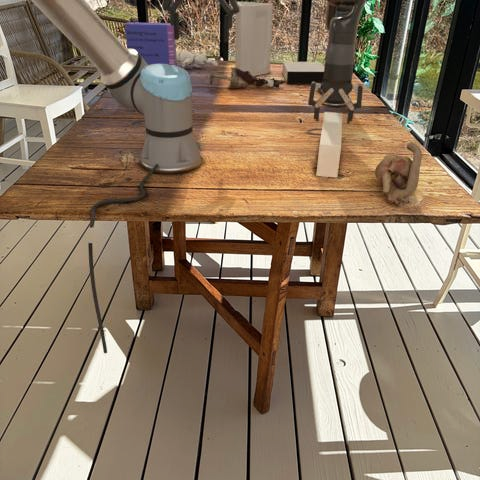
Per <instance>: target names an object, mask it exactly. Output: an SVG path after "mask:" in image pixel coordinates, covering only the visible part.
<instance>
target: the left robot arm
mask: <svg viewBox="0 0 480 480" xmlns="http://www.w3.org/2000/svg"><path fill="white" fill-rule="evenodd" d="M30 1H31V2H32V4H34V5H35V6H36V7H37V8H38V9H39V10H40V11H41V12H42V13H43V14H44V15H45V17H47V19H49V21H50V22H51V23H52V24H53V25H54V26H55V27H56V28H57V29H58V30H59V31H60V32H61V34H63V35H64V36H65V37H66V38H67V39H68V41H70V42H71V43H72V44H73V45H74V46H75V47H76V48H77V50H78V51H79V52H80V53H81V54H82V55H83V56H84V57H85V58H86V59H87V60H88V61H89V62H90V63H91V64H92V65H93V66H94V67H95V68H96V70H97V71H99V72H100V81H101V83H102V84H103V85H104V86H105V88H106V89H107V92H108V93H109V95H110V97H111V99H113V100H114V101H115V102H116V103H117V104H118V105H120V106H121V107H123V108H125V109H129V110H132V111H134V112H135V113H138V114H141V115H143V116H144V125H145V138H144V142H143V146H142V150H141V154H140V162H141V166H142V168H144V169H145V170H146V171H149V172H148V173H147V174H146V175H145V176H144V177H143V178H142V180H141V181H140V182H139V189H140V191H141V194H140V195H138V196H135V197H125V198H108V199H104V200H100V201H98V202H96V203H94V204H93V205H92V206H91V208H90V222H89V229H92V228H94V227H95V220H96V209H97V208H99V207H101V206H103V205H106V204H112V203H132V202H138V201H140V200H142V199H144V198H145V197H146V195H147V192H146V189H145V188H144V185H145V183H146V181H148V179H149V178H151V176H152V175H153V174H154V173H156V174H163V175H164V174H165V175H169V174H170V175H172V174H173V175H175V174H182V173H187V172H190V171H193V170H195V169H197V168H198V167H199V166H201V163H202V155H201V151H202V145H201V144H200V143H199V142H197V140H196V137H195V135H194V130H193V129H194V126H193V99H192V98H193V97H192V95H193V93H192V92H193V86H192V80H191V76H190V74H189V72H188V71H187V70H186V69H185V68H184V67H182V66H179V65H177V66H175V65H168V64H151V65H148V64H147V63H146V62H145V60H144V59H143V58H142V57H141V56H140V55H139V53H138V52H137V51H136V50H135V49H132V48H127V47H126V46H125V45H124V44H123V43H122V42H121V41H120V39H119V38H118V37H117V36H116V35H115V34H114V32H113V31H112V29H110V28H109V27H108V25H106V23H105V22H104V21H103V20H102V19H101V18H100V16H99V14H97V12H95V10H94V9H93V8H92V7H91V6H90V4H89V3H88V2H87V1H86V0H30ZM172 1H173V0H164V2H163V4H162V9H163V10H165V11H168V12H169V23H170V24H171V26H174V40H175V41H176V40H179V39H180V19H179V18H180V15H179V14H180V13H179V12H178V11H177V10H178V9H179V7H180V6H181V4H183V2H184V0H175V1H174V2H173V3H172ZM217 2H218V4H219V5H220V6H221V7H222V9H223V10H224V12H225V13H226V14H225V15H224V18H223V19H224V21H223V22H224V24H223V43H225V44H226V43H228V42H229V30H232V28H233V23H234V22H233V19H234V18H233V17H234V15H236V13H238V12H239V11H240V9H239V6H238V4H237V2H238V1H237V0H229V3H230V5H231V6H230V5H229V4H228V2H227V1H226V0H217ZM171 4H172V5H171ZM87 246H88V249H87V251H88V266H89V277H90V284H91V286H90V287H91V293H92V298H93V299H92V300H93V303H94V309H95V314H96V319H97V324H98V329H99V334H100V338H101V344H102V350H103V354H107V353H108V348H107V340H106V336H105V331H104V325H103V320H102V315H101V310H100V305H99V300H98V294H97V293H98V292H97V287H96V279H95V270H94V269H95V268H94V256H93V255H94V251H93V242H88V245H87Z"/></svg>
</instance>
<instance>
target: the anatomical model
mask: <svg viewBox="0 0 480 480" xmlns="http://www.w3.org/2000/svg"><path fill="white" fill-rule="evenodd" d="M406 149H407V150H408V151H410V152H411V153H412V154H413V157H412V159H411V158H410V157H409V156H404V155H403V156H402V155H398V154H395V153H393V152H390V153H388V154H386V155H385V156H384V158H383V159H382V160H380V162H379V163H378V164H377V166H376V168H375V170H374V177H375V179H376V180H377V181H378V182H380V183H382V194H385V195H386V196H387V202H388V203H390V204H393V203H395V205H398V204H400V202H401V203H404V202H405V201H406V200H405V199H408V198H410V197H412V196H413V194H414V193H415V192H416V190H417V188H418V185H419V180H420V170H421V164H422V160H423V151H422V148H421V147H420V146H419V145H418V144H416V143H415V142H412V141H411V142H408V143H407V145H406ZM399 200H400V202H399Z"/></svg>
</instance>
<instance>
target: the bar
mask: <svg viewBox="0 0 480 480" xmlns="http://www.w3.org/2000/svg"><path fill="white" fill-rule="evenodd" d="M343 115H344V113H343V112H333V111H332V112H331V111H324V112H323V119H322V127H321V133H320V139H319V140H320V141H319V146H318V155H317V165H316V173H315V175H316V177H327V178H338V175H339V167H340V161H341V160H340V158H341V151H342V140H343Z"/></svg>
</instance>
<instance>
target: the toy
mask: <svg viewBox="0 0 480 480" xmlns="http://www.w3.org/2000/svg"><path fill="white" fill-rule="evenodd" d="M176 61H177V63H179V64H180V65H181V67H182V68H185V67H187V66H188V67H189V66H191V65H192V64H193V67H195V68H196V69H201V66H204V65H207V64H212V65H213V66H214V67H216V68H217V67H218V66H219V63H218V62H217V61H216V60H215V59H213V58H207V56H206V55H205V54H202V53H201V51H197V52H196V53H193V52H190V51H187V50H184V51H176Z"/></svg>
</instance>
